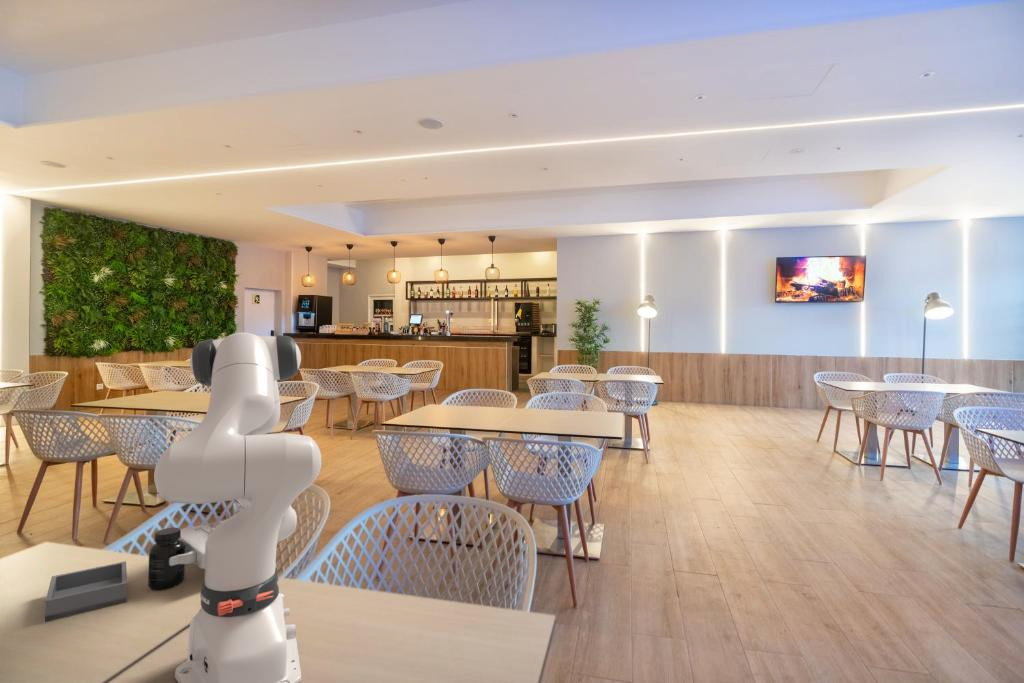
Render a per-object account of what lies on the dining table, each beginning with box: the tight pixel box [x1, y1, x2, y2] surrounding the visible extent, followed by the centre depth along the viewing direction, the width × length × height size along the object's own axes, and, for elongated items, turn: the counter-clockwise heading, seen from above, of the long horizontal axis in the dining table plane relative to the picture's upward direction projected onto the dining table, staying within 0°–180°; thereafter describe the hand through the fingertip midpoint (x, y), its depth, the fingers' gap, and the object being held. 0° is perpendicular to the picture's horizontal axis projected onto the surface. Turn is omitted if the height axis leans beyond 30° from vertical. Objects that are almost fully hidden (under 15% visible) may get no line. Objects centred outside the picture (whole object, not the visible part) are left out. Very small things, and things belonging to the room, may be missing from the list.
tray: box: [44, 560, 128, 623], centre depth 106 cm, size 13×13×4 cm
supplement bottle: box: [147, 527, 186, 591], centre depth 112 cm, size 7×7×12 cm
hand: (162, 555), depth 112 cm, fingers closed on supplement bottle, 7 cm apart
